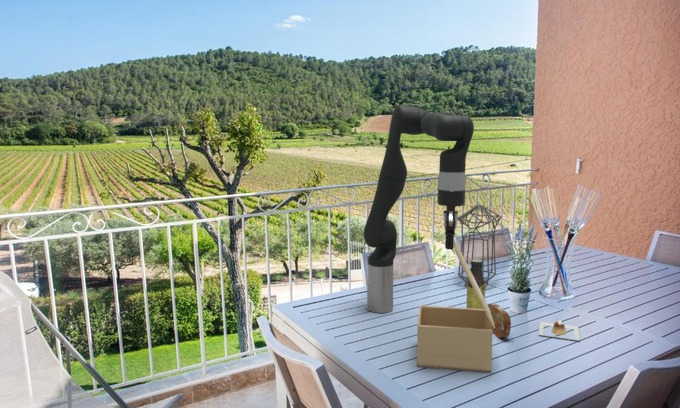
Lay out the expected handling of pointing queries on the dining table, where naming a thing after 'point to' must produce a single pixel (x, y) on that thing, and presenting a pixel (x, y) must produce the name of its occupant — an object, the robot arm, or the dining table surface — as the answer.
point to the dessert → (559, 330)
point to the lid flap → (473, 282)
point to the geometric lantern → (479, 239)
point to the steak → (500, 321)
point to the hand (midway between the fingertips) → (449, 248)
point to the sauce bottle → (478, 276)
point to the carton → (454, 338)
